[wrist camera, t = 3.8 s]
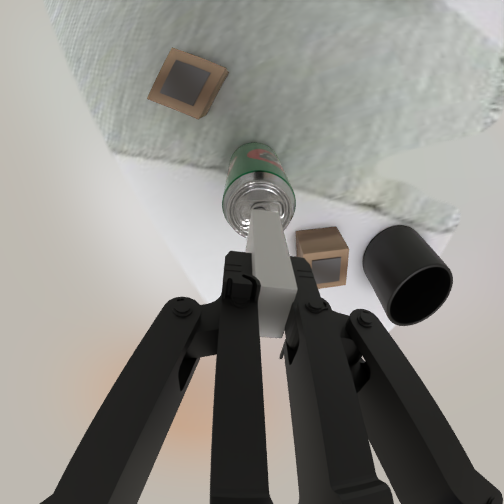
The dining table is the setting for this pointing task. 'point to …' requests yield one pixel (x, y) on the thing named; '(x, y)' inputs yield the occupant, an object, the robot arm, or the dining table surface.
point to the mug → (406, 275)
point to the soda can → (256, 187)
